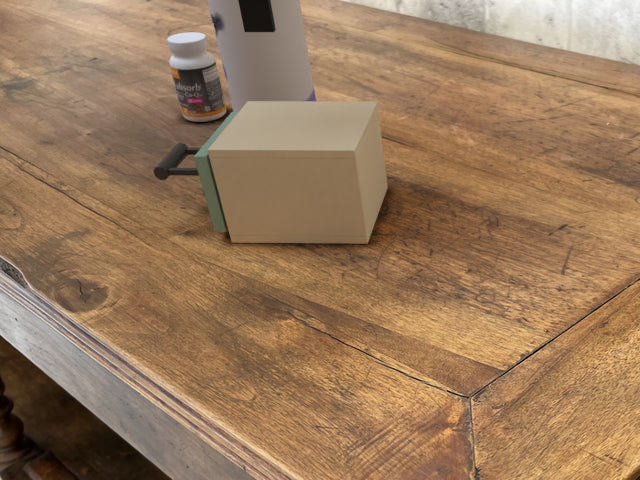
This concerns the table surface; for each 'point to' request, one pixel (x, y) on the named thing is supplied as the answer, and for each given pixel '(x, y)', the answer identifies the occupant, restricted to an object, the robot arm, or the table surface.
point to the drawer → (198, 173)
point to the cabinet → (301, 172)
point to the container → (263, 55)
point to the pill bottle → (196, 77)
